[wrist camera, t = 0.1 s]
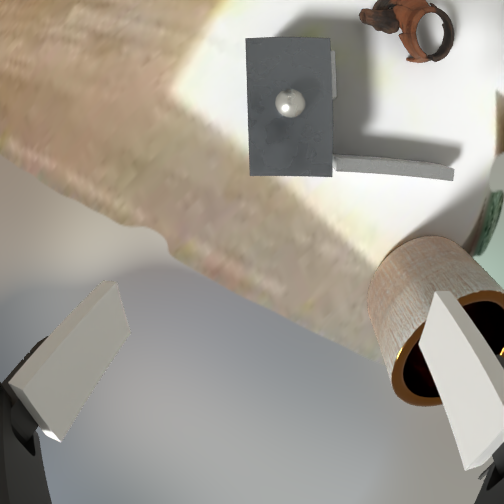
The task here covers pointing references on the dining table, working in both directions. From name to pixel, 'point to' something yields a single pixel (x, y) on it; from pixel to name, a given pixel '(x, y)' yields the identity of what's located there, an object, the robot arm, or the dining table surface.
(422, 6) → the brown curved piece
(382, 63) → the dining table surface
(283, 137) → the motor bracket
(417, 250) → the planter
